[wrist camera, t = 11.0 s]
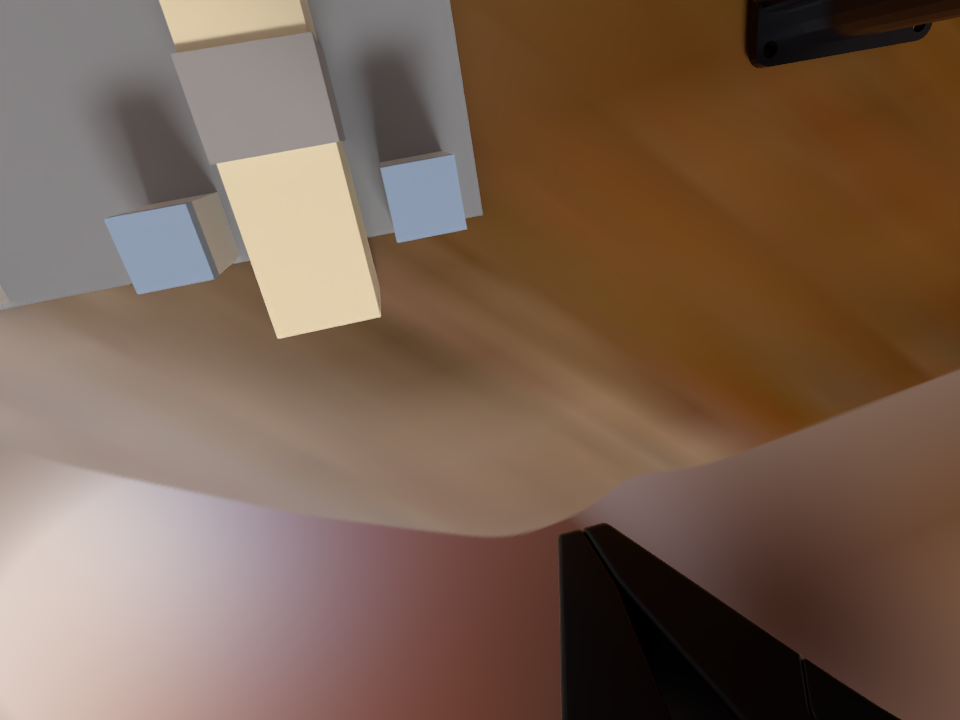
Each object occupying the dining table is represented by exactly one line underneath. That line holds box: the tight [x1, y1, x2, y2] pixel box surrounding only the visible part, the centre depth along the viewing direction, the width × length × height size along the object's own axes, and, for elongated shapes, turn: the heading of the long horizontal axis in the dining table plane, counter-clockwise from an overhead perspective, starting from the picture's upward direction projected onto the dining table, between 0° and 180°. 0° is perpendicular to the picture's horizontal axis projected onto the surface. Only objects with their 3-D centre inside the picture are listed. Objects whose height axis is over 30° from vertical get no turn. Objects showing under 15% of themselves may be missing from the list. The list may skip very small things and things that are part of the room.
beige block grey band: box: [159, 0, 381, 339], centre depth 14 cm, size 3×12×3 cm, turn 9°
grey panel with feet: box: [0, 0, 483, 310], centre depth 14 cm, size 17×11×4 cm, turn 99°
